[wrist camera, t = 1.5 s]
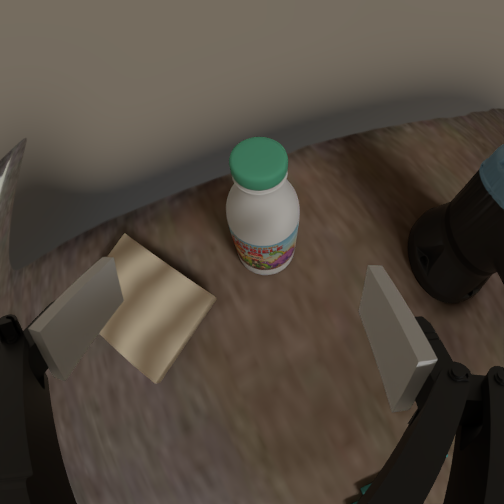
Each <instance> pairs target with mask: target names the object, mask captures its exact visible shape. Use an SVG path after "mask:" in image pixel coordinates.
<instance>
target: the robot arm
mask: <svg viewBox="0 0 504 504" xmlns="http://www.w3.org/2000/svg"><path fill="white" fill-rule="evenodd" d="M408 254H409V260H410V264H411V267H412V270H413V272H414V274H415V276H416V278H417V280H418V282H419V283H420V285H421V286H422V287H423V288H424V289H425V291H426V292H428V293H429V294H430V295H431V296H432V297H434V298H435V299H437V300H439V301H442V302H445V303H459V302H462V301H464V300H467V299H469V298H471V297H472V296H474V295H475V294H476V293H477V292H478V291H479V290H480V289H481V288H482V286H483V285H484V284H485V283H486V281H487V280H488V279H489V278H490V276H491V275H492V274H493V273H495V272H498V274H499V276H500V278H501V280H502V282H503V284H504V144H503V145H501V146H500V147H499V148H498V149H497V150H496V151H495V152H494V153H493V154H492V155H491V156H490V157H489V158H487V159H486V160H484V161H483V163H482V164H481V167H480V169H479V170H478V171H477V173H476V174H475V175H474V176H473V177H472V178H471V180H470V181H469V182H468V183H467V184H466V185H465V187H464V188H463V189H462V190H461V191H460V192H459V193H458V194H457V195H456V196H455V198H454V199H453V200H452V201H451V202H448V203H446V204H443V205H440V206H438V207H435V208H432V209H430V210H428V211H427V212H425V213H424V214H423V215H422V216H421V217H420V218H419V219H418V220H417V221H416V223H415V224H414V226H413V228H412V230H411V232H410V236H409V241H408ZM123 301H124V299H123V295H122V291H121V287H120V283H119V279H118V275H117V270H116V266H115V261H114V257H102V258H101V259H100V260H98V261H97V262H96V263H95V264H94V265H93V266H92V267H91V268H90V269H88V270H87V271H86V272H85V273H84V274H83V275H82V276H81V277H80V278H79V279H78V280H76V281H75V282H74V283H73V284H72V285H71V286H70V287H69V288H68V289H67V290H66V291H65V292H64V293H63V294H62V295H61V296H60V297H59V298H58V299H57V300H55V301H54V302H52V303H50V304H49V305H48V306H47V307H46V308H45V309H44V311H42V312H41V313H40V314H39V316H37V317H36V318H35V319H34V320H33V322H32V323H31V324H30V325H29V326H28V327H27V328H26V329H25V330H24V331H23V330H22V328H21V326H20V324H19V322H18V320H17V317H16V316H15V315H11V314H10V315H6V316H3V317H1V318H0V504H77V503H76V501H75V498H74V495H73V492H72V489H71V486H70V483H69V480H68V477H67V473H66V470H65V467H64V463H63V459H62V455H61V451H60V447H59V443H58V439H57V434H56V429H55V424H54V419H53V413H52V406H51V400H50V392H49V384H48V377H47V375H46V373H45V371H46V370H47V369H48V368H49V370H50V372H51V373H52V375H53V377H55V378H57V379H60V380H63V381H66V380H67V379H68V377H69V376H70V374H71V373H72V371H73V370H74V368H75V367H76V365H77V364H78V362H79V361H80V360H81V358H82V357H83V355H84V354H85V352H86V351H87V350H88V348H89V347H90V345H91V344H92V343H93V341H94V340H95V338H96V337H97V336H98V334H99V333H100V331H101V330H102V329H103V327H104V326H105V325H106V323H107V322H108V321H109V319H110V318H111V317H112V315H113V314H114V313H115V311H116V310H117V309H118V307H119V306H120V305H121V303H122V302H123ZM358 312H359V314H360V317H361V320H362V322H363V325H364V328H365V331H366V333H367V336H368V339H369V342H370V345H371V348H372V351H373V353H374V356H375V359H376V362H377V365H378V368H379V372H380V375H381V378H382V381H383V384H384V387H385V391H386V394H387V397H388V401H389V404H390V407H391V411H392V412H398V411H404V410H409V409H410V408H411V406H412V405H413V403H414V401H416V403H417V406H418V409H417V410H416V412H415V413H414V415H413V416H412V418H411V419H410V421H409V422H408V424H409V425H408V427H407V429H406V431H405V432H404V434H403V436H402V438H401V439H400V441H399V443H398V444H397V446H396V448H395V449H394V451H393V453H392V454H391V456H390V457H389V459H388V460H387V462H386V463H385V465H384V467H383V468H382V469H381V471H380V472H379V474H378V475H377V477H376V478H375V480H374V481H373V482H372V484H371V485H370V486H369V488H368V489H367V491H366V492H365V493H364V494H363V496H362V497H361V498H360V500H359V501H358V502H357V503H356V504H423V503H424V501H425V499H426V497H427V496H428V494H429V492H430V490H431V488H432V486H433V484H434V482H435V480H436V478H437V476H438V474H439V472H440V470H441V467H442V465H443V463H444V461H445V458H446V456H447V454H448V451H449V449H450V446H451V444H452V441H453V439H454V436H455V433H456V436H455V445H454V452H453V459H452V465H451V471H450V476H449V481H448V486H447V490H446V495H445V499H444V503H443V504H504V368H503V367H500V366H494V367H492V368H491V369H490V370H489V371H488V373H487V375H486V376H482V375H472V374H471V373H470V371H469V369H468V368H467V367H466V366H464V365H463V364H461V363H458V362H453V361H452V359H451V357H450V355H449V354H448V352H447V350H446V348H445V347H444V345H443V343H442V342H441V340H439V336H438V335H437V333H435V330H434V328H433V327H432V325H431V323H429V322H428V321H427V320H426V319H425V318H423V317H414V316H413V314H412V312H411V311H410V309H409V307H408V306H407V304H406V302H405V301H404V299H403V297H402V296H401V294H400V293H399V291H398V289H397V288H396V286H395V285H394V283H393V282H392V280H391V279H390V277H389V276H388V274H387V272H386V271H385V269H384V268H383V266H377V265H368V268H367V273H366V278H365V283H364V288H363V293H362V298H361V303H360V307H359V311H358Z"/></svg>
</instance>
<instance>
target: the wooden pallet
mask: <svg viewBox="0 0 504 504" xmlns="http://www.w3.org/2000/svg"><path fill="white" fill-rule="evenodd" d="M108 257H114V261H115V266H116V270H117V275H118V279H119V283H120V287H121V291H122V295H123V299H124V301H123V302H122V303H121V305H120V306H119V307H118V309H117V310H116V311H115V313H114V314H113V315H112V317H111V318H110V319H109V321H108V322H107V323H106V325H105V326H104V327H103V329H102V330H101V331H100V333H99V334H100V335H101V336H102V337H103V338H104V339H105V340H106V341H108V342H109V343H110V344H111V345H112V346H113V347H114V348H115V349H116V350H117V351H118V352H119V353H120V354H121V355H122V356H124V357H125V358H126V359H127V360H128V361H129V362H130V363H131V364H133V365H134V366H135V367H136V368H137V369H138V370H139V371H141V372H142V373H143V374H144V375H145V376H147V377H148V378H149V379H150V380H151V381H153V382H154V383H155V384H156V383H160V382H161V380H162V379H163V377H164V376H165V374H166V373H167V372H168V370H169V369H170V367H171V366H172V364H173V363H174V361H175V360H176V358H177V357H178V355H179V354H180V352H181V351H182V349H183V348H184V346H185V345H186V343H187V342H188V341H189V339H190V338H191V336H192V335H193V333H194V332H195V330H196V329H197V327H198V326H199V324H200V323H201V321H202V320H203V318H204V317H205V315H206V314H207V313H208V311H209V310H210V308H211V307H212V305H213V304H214V302H215V301H216V299H217V298H216V297H215V296H213V295H212V294H210V293H209V292H207V291H206V290H204V289H203V288H201V287H200V286H198V285H197V284H195V283H194V282H193V281H191V280H190V279H188V278H187V277H185V276H184V275H182V274H181V273H179V272H178V271H177V270H175V269H174V268H172V267H171V266H169V265H168V264H166V263H165V262H164V261H162V260H161V259H159V258H158V257H157V256H155V255H154V254H152V253H151V252H150V251H148V250H147V249H145V248H144V247H143V246H141V245H140V244H139V243H137V242H136V241H135V240H133V239H132V238H130V237H129V236H128V235H126V234H125V233H124V234H123V236H122V237H121V238H120V240H119V241H118V243H117V244H116V245H115V247H114V248H113V250H112V251H111V252H110V254H109V255H108Z"/></svg>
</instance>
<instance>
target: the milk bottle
mask: <svg viewBox="0 0 504 504" xmlns="http://www.w3.org/2000/svg"><path fill="white" fill-rule="evenodd" d="M229 165H230V170H231V174H232V179H233V181H234V184H233V186H232V188H231V190H230V192H229V194H228V198H227V203H226V216H227V221H228V225H229V229H230V232H231V235H232V238H233V241H234V244H235V247H236V250H237V253H238V256H239V258H240V260H241V262H242V263H243V265H244V266H245V267H246V268H247V269H249V270H250V271H252V272H254V273H257V274H261V275H271V274H275V273H278V272H280V271H281V270H283V269H284V268H285V267H286V266H287V265H288V264H289V263H290V261H291V259H292V257H293V254H294V250H295V244H296V238H297V232H298V225H299V214H300V208H299V201H298V197H297V194H296V192H295V190H294V188H293V186H292V185H291V184H290V182H289V181H288V180H287V179H286V178H287V169H288V156H287V153H286V151H285V149H284V148H283V146H282V145H281V144H280V143H278V142H277V141H275V140H272V139H270V138H266V137H253V138H249V139H246V140H244V141H242V142H240V143H239V144H238V145H236V146H235V147H234V149H233V150H232V152H231V154H230V159H229Z"/></svg>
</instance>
